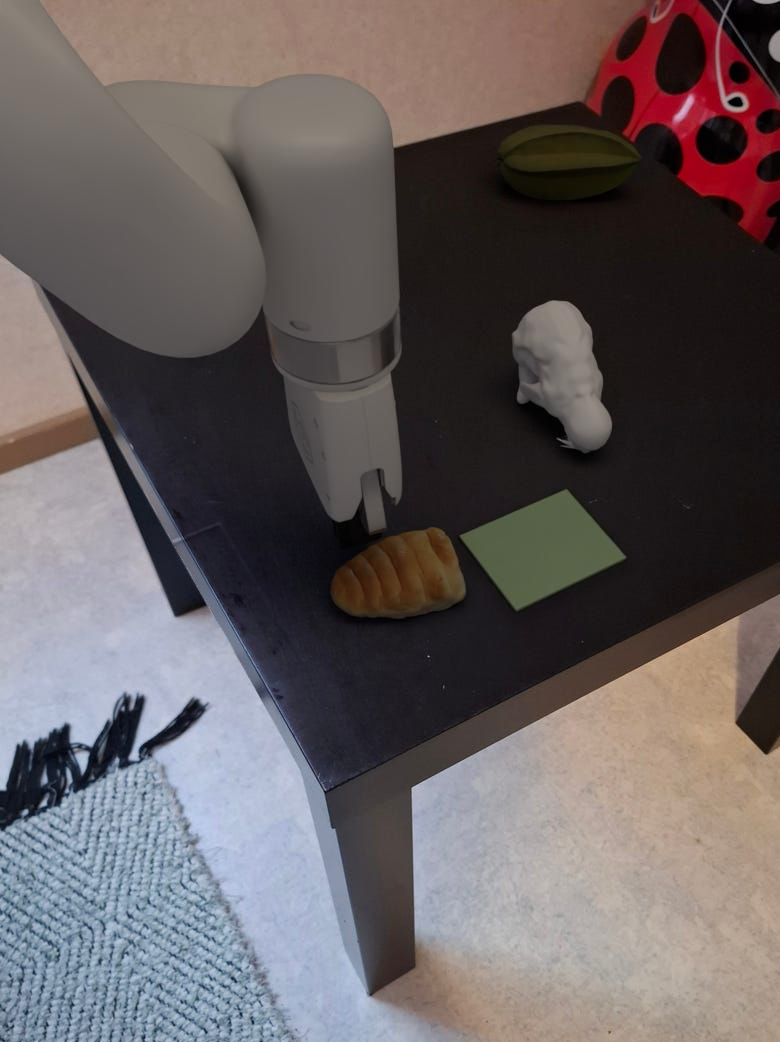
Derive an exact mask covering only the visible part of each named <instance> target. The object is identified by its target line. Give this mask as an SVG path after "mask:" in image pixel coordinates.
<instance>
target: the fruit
mask: <svg viewBox="0 0 780 1042" xmlns="http://www.w3.org/2000/svg"><path fill="white" fill-rule="evenodd" d="M496 154H497V158H496V160H497V163H496V165H497V166H498V167H499V171H500V174H501V176H502V178H503V179H504V181H505V182H506V184H507V185H508V186H510V187H511V188H512V189H513V190H514V191H516V192H517V193H518V194H520V195H522V196H525V197H527V198H532V199H538V200H541V201H559V202H560V201H561V202H563V201H575V200H582V199H587V198H591V197H595V196H599V195H602V194H604V193H606V192H609V191H611V190H613V189H615V188H617V187H620V186H621V185H622V184H623V183H624V182H625V181H627V180H628V179H629V178H630V177H631V176H632V175H633V174H634V173H635V172H636V171H637V169H638V168H639V167H640V166H641V164H642V163H643V162H644V161H643V157H642V156H641V154H640V152H639V151H638V150H637V149H636V146H634V145H633V144H631V143H630V142H628V141H627V140H625V139H623V138H622V137H621V136H619V135H618V134H616V133H613V132H610V131H608V130H604V129H599V128H594V127H590V126H585V125H579V124H578V125H577V124H551V123H550V124H549V123H548V124H547V123H545V124H534V125H529V126H527V127H525V128H524V127H523V128H522V129H518V130H517V131H516V132H513V133H512V134H510V135H508V136H507V137H505V139H503V140H502V141H501V142H500V144H499V146H498V149H497V151H496Z"/></svg>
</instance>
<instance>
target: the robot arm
mask: <svg viewBox="0 0 780 1042" xmlns="http://www.w3.org/2000/svg"><path fill="white" fill-rule="evenodd" d="M394 148H395V147H394V137H393V129H392V125H391V121H390V118H389V116H388V113H387V111H386V109H385V108H384V105H383V104H382V103H381V101H380V100H379V99H378V98H377V97H376V96H375V95H374V93H372V92H371V91H369V90H368V89H367V88H365V87H363V85H361V84H358V83H356V82H354V81H352V80H350V79H347V78H344V77H340V76H336V75H331V74H323V73H299V74H292V75H291V74H290V75H284V76H281V77H278V78H277V77H276V78H274V79H270V80H268V81H266V82H263V83H262V84H259V85H257V86H231V85H216V84H203V83H200V84H199V83H190V82H181V81H180V82H179V81H178V82H177V81H169V80H155V79H154V80H150V79H149V80H139V79H137V80H136V79H135V80H126V81H117V82H114V83H109V84H107V85H104V84H103V83H102V82H101V81H100V79H99V78H98V76H96V74H95V73H94V72H93V71H92V70H91V68H90V67H89V66H88V65H87V63H86V62H85V61H84V60H83V58H82V57H81V56H80V54H79V53H78V52H77V51H76V49H75V48H74V46H73V45H72V44H71V42H70V41H69V40H68V38H66V36H65V35H64V34H63V32H62V31H61V29H60V28H59V26H58V25H57V23H56V22H55V21H54V19H53V18H52V17H51V15H50V14H49V12H48V11H47V9H46V8H45V6H44V5H43V4H42V3H41V1H40V0H0V256H1V257H3V259H5V260H7V261H8V262H9V263H10V264H12V265H13V266H14V267H15V268H17V269H18V270H20V271H21V272H22V273H23V274H25V275H27V276H28V277H30V279H32V281H33V280H34V281H35V282H36V283H37V284H38V285H40V286H41V287H42V288H44V289H45V290H46V291H48V292H49V293H50V294H52V295H53V296H55V297H56V298H58V299H59V300H60V301H61V302H63V303H64V304H66V305H67V306H68V307H70V308H71V309H73V311H75V312H77V313H78V314H80V315H81V316H83V317H84V318H85V319H86V320H88V321H89V322H91V323H92V324H94V325H96V327H99V328H100V329H102V330H103V331H105V332H107V333H108V334H109V335H112V336H113V337H115V338H116V339H118V340H121V341H123V342H124V343H127V344H129V345H130V346H133V347H135V348H138V349H140V350H143V351H146V352H149V353H152V354H155V355H159V356H164V357H171V358H177V359H188V358H189V359H192V358H199V357H200V358H201V357H205V356H211V355H213V354H216V353H219V352H221V351H223V350H226V349H228V348H229V347H230V346H233V345H234V344H235V343H236V342H238V341H239V340H241V338H243V337H244V336H245V334H246V333H248V331H249V330H250V329H251V327H252V326H253V325H254V323H255V321H256V320H257V318H258V317H259V315H260V314H259V313H260V311H261V309H262V312H263V317H264V323H265V328H266V334H267V339H268V345H269V350H270V355H271V356H270V357H271V360H272V362H273V364H274V366H275V368H276V370H277V371H278V372H279V373H280V375H282V377H283V385H284V393H285V400H286V401H285V402H286V409H287V416H288V423H289V428H290V433H291V435H292V438H293V441H294V444H295V446H296V448H297V451H298V453H299V456H300V458H301V460H302V462H303V464H304V467H305V469H306V471H307V474H308V476H309V479H310V480H311V483H312V485H313V487H314V489H315V491H316V494H317V496H318V498H319V501H320V502H321V504H322V506H323V508H324V510H325V512H326V514H327V515H328V517H329V518H330V519H331V526H332V532H333V534H334V537H335V538H336V539H337V543H338V546H339V549H341V550H348V549H351V548H354V547H359V546H364V545H368V544H369V543H371V542H374V541H378V540H380V539H381V538H382V536H383V532H385V531H388V526H387V520H386V513H385V507H384V501H383V493H382V491H383V492H384V494H385V496H386V498H387V500H388V502H389V504H390V505H391V504H392V505H393V506H397V505H398V504H399V502H400V500H401V498H402V494H403V493H402V492H403V468H402V456H401V455H402V454H401V443H400V435H399V424H398V417H397V408H396V405H397V404H396V400H395V394H394V386H393V380H392V375H391V374H392V373H391V372H392V371H393V370H394V369H395V368H396V366H397V365H398V363H399V361H400V358H401V355H402V351H403V350H402V346H403V345H402V344H403V343H402V323H401V322H402V321H401V300H400V299H401V298H400V274H399V270H400V269H399V250H398V249H399V248H398V227H397V226H398V225H397V200H396V199H397V198H396V176H395V175H396V174H395V149H394Z"/></svg>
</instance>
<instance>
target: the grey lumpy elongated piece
mask: <svg viewBox="0 0 780 1042" xmlns="http://www.w3.org/2000/svg"><path fill="white" fill-rule="evenodd" d="M511 341H512V343H511V344H512V356H513V359H514V361H515V362H516V363H517V364H518V379H519V384H518V385H519V386H518V390H517V393H516V401H517V403H518V404H520V405H525V404H527V403H529V402H532V403H533V404H534V405H537V406H539V407H541V408H542V409H545V410H546V413H548V414H549V415H551V416H552V417H555V418H557V419H558V420H559V422H560V423H561V424H562V425H563V427H564V432H565V435H566V437H567V440H566V439H561V438H559V437H556V440H558V441H560V442H562V444H564V445H560V447H563V448H568V449H575V450H578V451H580V452H581V453H583V454H587V453H590V452H591V451H597V450H599V449H600V448H602V447H603V446H604V445H605V444H607V441H608V440H609V438H610V436H611V433H612V428H613V421H612V417H611V415H610V413H609V411H608V409H607V408H606V407H605V405H604V403H602V402H601V401H602V392H603V387H604V379H603V374H602V372H601V370H600V369H599V366H598V363H597V360H596V358H595V355H594V353H593V346H594V345H593V344H594V339H593V330H592V327H591V326H590V324H589V323H588V322H587V321H586V320H585V318H584V316H583V314H582V313H581V311H580V310H579V309H578V308H577V307H576V306H575V305H574V304H573V303H571V302H569V301H566V300H549V301H546V302H545V303H543V304H540V305H538V306H535V307H534V308H532V309H530V310H529V311H527V312H526V313H525V314H524V316H523V317H522V319H521V320H520V322H519V323H518V325H517V328H516V330H514V331H513V332H512V333H511Z"/></svg>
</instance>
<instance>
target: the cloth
mask: <svg viewBox="0 0 780 1042" xmlns="http://www.w3.org/2000/svg"><path fill="white" fill-rule="evenodd" d="M458 537H459V540H460V542H462V543H463V545H464V546H465V548H466V549H467V550H468V551H469V553H470V554H471V555H472V557H473V558H474V559H475V560H476V562H477V563H478V564H479V566H480V567H481V569H482V570H483V571H484V572H485V574H486V575H487V576H488V577H489V579H490V580H491V581H492V583H493V584H494V586H495V588H497V590H498V591H499V592H500V593H501V595H502V596H503V597H504V599H505V600H506V601H507V603H508V604H509V605H510V606H511V608H512V609H513V610H514V612H515V613H517V612H519V611H521V610H523V609H526V608H528V607H530V606H532V605H535V604H536V603H538V602H540V601H542V600H544V599H547V598H549V597H550V596H553V595H555V594H557V593H559V592H561V591H563V590H566V589H567V588H569V587H572V586H573V585H576V584H578V583H580V582H582V581H584V580H586V579H588V578H590V577H592V576H595V575H597V574H599V573H601V572H603V571H605V570H607V569H609V568H612V567H614V566H615V565H617V564H620V563H622V562H624V561H626V560H627V556H626V555H625V554H624V553H623V551H621V549H620V548H619V546H618V545H617V544H616V543H615V542H614V541H613V540H612V539H611V538H610V537H609V536H608V535H607V534H606V532H605V531H604V530H603V529H602V527H601V526H600V525H599V524H598V523H597V522H596V521H595V520H594V518H593V517H592V516H591V515H590V514H589V512H588V511H586V509H585V508H584V506H582V505H581V504H580V502H579V501H578V500H577V499H576V498H575V497H574V496H573V494H572V493H571V492H570V491H569V490H568V489H567V488H565V489H563V490H562V491H559V492H557V493H554V494H552V495H549V496H547V497H544V498H543V499H540V500H538V501H536V502H534V503H531V504H528V505H527V506H524V507H521V508H520V509H518V510H515V511H513V512H510V513H508V514H506V515H504V516H502V517H499V518H497V519H494V520H493V521H490V522H487V523H485V524H482V525H480V526H478V527H476V528H474V529H471V530H470V531H467V532H465V533H462V534H460V535H459V536H458Z"/></svg>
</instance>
